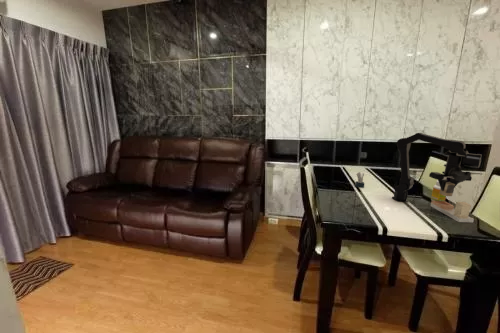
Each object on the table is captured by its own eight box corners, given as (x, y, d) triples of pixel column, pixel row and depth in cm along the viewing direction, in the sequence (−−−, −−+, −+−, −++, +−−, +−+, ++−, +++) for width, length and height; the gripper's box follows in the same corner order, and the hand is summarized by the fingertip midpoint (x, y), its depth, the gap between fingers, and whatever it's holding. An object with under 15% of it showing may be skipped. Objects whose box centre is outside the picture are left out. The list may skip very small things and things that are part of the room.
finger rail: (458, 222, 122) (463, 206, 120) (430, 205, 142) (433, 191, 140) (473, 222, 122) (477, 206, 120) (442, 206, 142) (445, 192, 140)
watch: (362, 185, 178) (364, 171, 176) (364, 188, 171) (366, 174, 168) (354, 184, 180) (356, 170, 177) (355, 187, 172) (357, 173, 170)
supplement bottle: (438, 203, 146) (443, 183, 143) (427, 199, 153) (431, 180, 149) (447, 202, 148) (452, 183, 145) (436, 198, 154) (440, 179, 151)
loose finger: (445, 196, 130) (448, 184, 128) (439, 193, 134) (442, 181, 133) (452, 196, 130) (455, 184, 128) (446, 193, 134) (449, 181, 132)
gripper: (446, 167, 121) (439, 195, 125) (484, 168, 120) (476, 197, 124) (431, 162, 131) (425, 188, 135) (466, 163, 130) (459, 189, 134)
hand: (446, 190), depth 132 cm, fingers closed on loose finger, 4 cm apart
